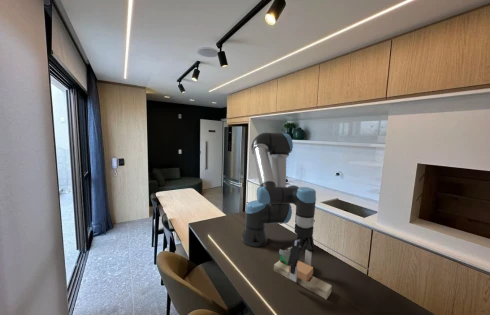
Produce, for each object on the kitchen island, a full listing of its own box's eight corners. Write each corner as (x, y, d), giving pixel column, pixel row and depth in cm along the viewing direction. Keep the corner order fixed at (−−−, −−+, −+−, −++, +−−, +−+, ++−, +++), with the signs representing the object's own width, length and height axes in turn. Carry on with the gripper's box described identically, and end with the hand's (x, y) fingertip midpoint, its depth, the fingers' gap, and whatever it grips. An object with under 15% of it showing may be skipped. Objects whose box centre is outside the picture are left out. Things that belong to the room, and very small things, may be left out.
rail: (273, 270, 93) (274, 264, 92) (279, 265, 96) (279, 259, 96) (326, 299, 77) (327, 292, 76) (331, 292, 80) (331, 285, 80)
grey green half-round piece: (287, 277, 89) (288, 255, 88) (277, 269, 94) (279, 249, 93) (306, 268, 96) (307, 248, 95) (296, 261, 101) (297, 242, 100)
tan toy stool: (288, 280, 87) (288, 266, 86) (295, 272, 92) (296, 259, 91) (305, 289, 81) (306, 274, 81) (312, 281, 86) (313, 267, 86)
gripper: (298, 238, 73) (294, 292, 75) (324, 219, 91) (320, 263, 93) (280, 231, 78) (277, 282, 80) (308, 214, 96) (305, 256, 98)
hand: (300, 272), depth 86 cm, fingers open, 13 cm apart
